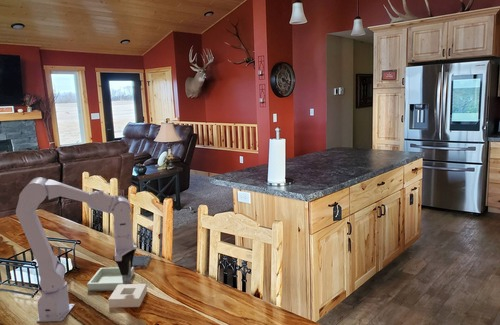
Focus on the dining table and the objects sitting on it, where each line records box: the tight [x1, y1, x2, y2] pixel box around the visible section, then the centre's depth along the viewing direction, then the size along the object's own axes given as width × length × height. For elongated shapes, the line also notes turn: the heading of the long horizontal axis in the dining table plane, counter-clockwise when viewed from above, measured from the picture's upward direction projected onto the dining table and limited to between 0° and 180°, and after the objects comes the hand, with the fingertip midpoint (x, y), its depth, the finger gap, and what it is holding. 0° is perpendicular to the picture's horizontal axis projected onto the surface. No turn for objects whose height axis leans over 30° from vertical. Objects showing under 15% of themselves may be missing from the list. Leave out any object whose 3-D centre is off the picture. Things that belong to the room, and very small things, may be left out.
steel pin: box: [122, 263, 133, 284], centre depth 131 cm, size 3×3×8 cm
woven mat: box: [132, 254, 153, 270], centre depth 161 cm, size 10×11×2 cm
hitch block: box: [107, 283, 148, 309], centre depth 132 cm, size 10×10×3 cm
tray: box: [86, 266, 135, 292], centre depth 145 cm, size 13×13×3 cm
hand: (126, 272), depth 131 cm, fingers closed on steel pin, 3 cm apart
